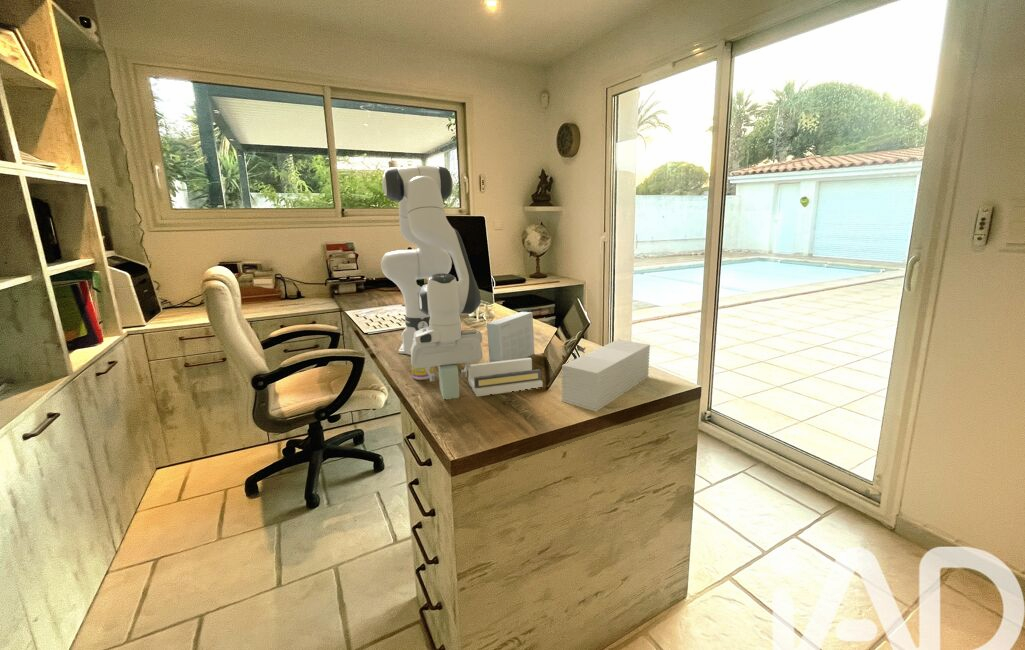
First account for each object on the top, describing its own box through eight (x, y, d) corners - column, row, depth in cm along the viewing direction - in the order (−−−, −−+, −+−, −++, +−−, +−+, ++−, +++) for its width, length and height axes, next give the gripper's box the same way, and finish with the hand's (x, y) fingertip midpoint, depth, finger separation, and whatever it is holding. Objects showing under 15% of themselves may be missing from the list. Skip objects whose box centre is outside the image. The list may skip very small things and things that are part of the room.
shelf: (468, 382, 137) (467, 363, 135) (529, 374, 142) (529, 356, 141) (476, 396, 125) (475, 376, 124) (542, 387, 131) (542, 368, 129)
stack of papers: (596, 412, 114) (597, 373, 111) (561, 402, 121) (562, 365, 118) (648, 377, 137) (649, 344, 135) (617, 370, 144) (618, 339, 142)
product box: (439, 389, 131) (438, 361, 129) (455, 387, 133) (453, 359, 130) (443, 399, 124) (441, 369, 122) (460, 397, 125) (458, 367, 123)
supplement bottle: (428, 381, 139) (425, 341, 136) (409, 380, 140) (405, 341, 137) (436, 373, 145) (433, 336, 142) (417, 372, 146) (414, 335, 143)
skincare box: (522, 352, 167) (522, 310, 163) (534, 354, 163) (534, 312, 160) (487, 367, 150) (486, 322, 146) (500, 370, 147) (499, 324, 143)
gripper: (479, 326, 130) (481, 370, 133) (408, 332, 124) (412, 379, 127) (484, 331, 124) (486, 377, 127) (409, 338, 118) (413, 386, 121)
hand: (448, 378), depth 127 cm, fingers open, 8 cm apart
